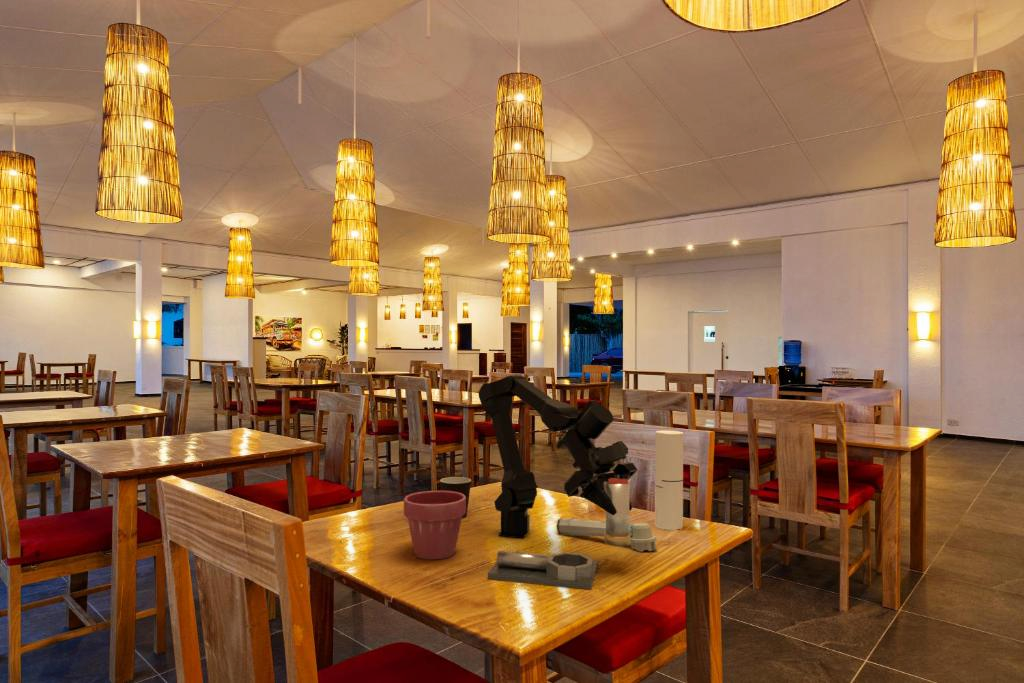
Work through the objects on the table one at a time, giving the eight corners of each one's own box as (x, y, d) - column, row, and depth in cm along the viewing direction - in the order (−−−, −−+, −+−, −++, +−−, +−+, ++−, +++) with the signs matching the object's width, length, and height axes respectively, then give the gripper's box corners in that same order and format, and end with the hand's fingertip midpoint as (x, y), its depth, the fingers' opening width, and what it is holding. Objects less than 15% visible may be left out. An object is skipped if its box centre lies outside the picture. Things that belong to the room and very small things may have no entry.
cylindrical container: (678, 531, 156) (678, 434, 157) (651, 527, 160) (651, 432, 160) (686, 525, 162) (686, 431, 163) (659, 521, 166) (660, 429, 166)
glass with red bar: (603, 544, 126) (604, 480, 126) (605, 537, 131) (606, 475, 131) (629, 547, 125) (630, 482, 125) (630, 539, 130) (631, 477, 130)
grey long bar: (564, 515, 157) (656, 517, 143) (567, 541, 156) (660, 546, 143) (554, 520, 152) (648, 522, 139) (557, 547, 152) (652, 552, 138)
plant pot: (402, 544, 143) (403, 490, 144) (461, 541, 146) (462, 488, 146) (403, 565, 129) (404, 505, 129) (469, 562, 132) (469, 503, 132)
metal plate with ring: (487, 578, 122) (487, 557, 122) (504, 557, 135) (504, 538, 135) (590, 589, 117) (591, 567, 117) (597, 566, 130) (597, 546, 130)
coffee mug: (469, 520, 164) (469, 483, 164) (437, 520, 164) (438, 483, 165) (472, 509, 176) (473, 475, 176) (443, 509, 176) (443, 474, 176)
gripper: (574, 432, 125) (616, 496, 117) (631, 426, 137) (672, 483, 129) (547, 465, 131) (585, 528, 122) (603, 456, 143) (641, 512, 135)
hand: (622, 512), depth 127 cm, fingers closed on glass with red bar, 5 cm apart
